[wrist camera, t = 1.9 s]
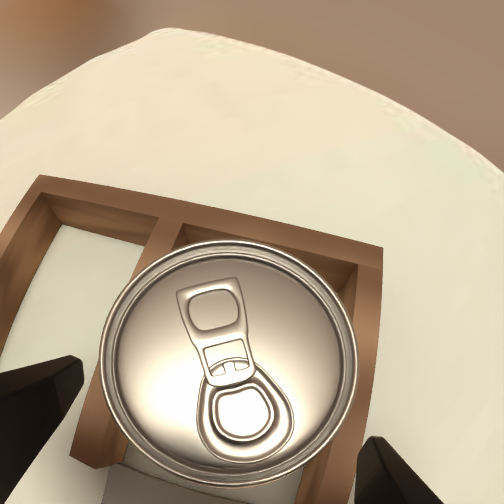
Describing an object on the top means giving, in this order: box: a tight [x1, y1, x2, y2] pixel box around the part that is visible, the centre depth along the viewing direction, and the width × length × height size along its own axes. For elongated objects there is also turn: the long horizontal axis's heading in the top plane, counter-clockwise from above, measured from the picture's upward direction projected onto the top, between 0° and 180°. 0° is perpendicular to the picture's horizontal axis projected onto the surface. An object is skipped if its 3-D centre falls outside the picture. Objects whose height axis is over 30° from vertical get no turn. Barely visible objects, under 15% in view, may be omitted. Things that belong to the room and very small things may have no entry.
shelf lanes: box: [0, 174, 383, 504], centre depth 16 cm, size 16×24×4 cm, turn 76°
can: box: [99, 239, 360, 489], centre depth 11 cm, size 6×6×12 cm
